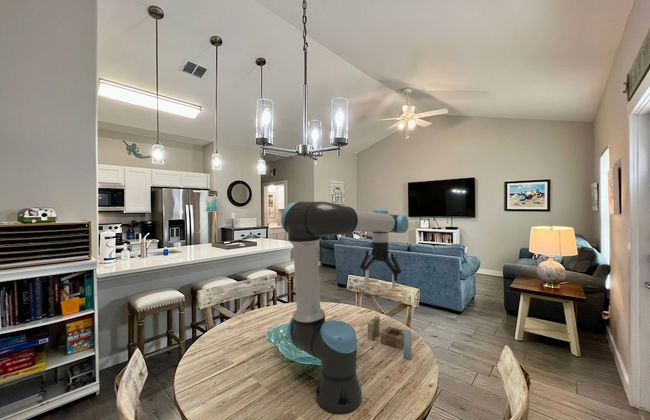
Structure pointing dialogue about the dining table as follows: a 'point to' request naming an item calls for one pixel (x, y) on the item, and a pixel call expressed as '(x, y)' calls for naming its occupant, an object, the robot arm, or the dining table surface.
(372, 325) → the jig
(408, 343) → the dowel
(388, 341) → the block
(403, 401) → the dining table surface
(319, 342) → the robot arm
